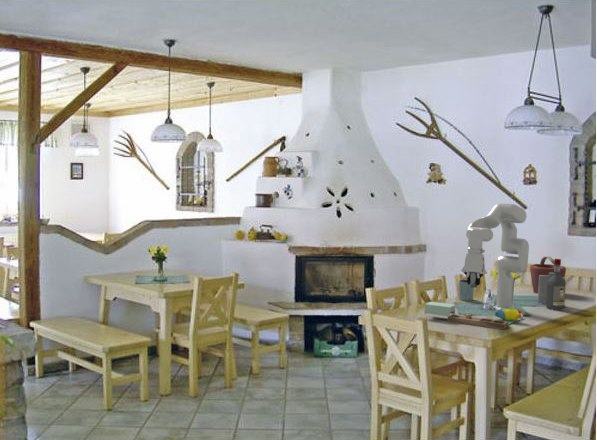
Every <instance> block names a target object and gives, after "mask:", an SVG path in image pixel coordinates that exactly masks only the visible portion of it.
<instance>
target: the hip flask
mask: <svg viewBox="0 0 597 440" xmlns="http://www.w3.org/2000/svg"><path fill="white" fill-rule="evenodd" d="M549 274H550V275H539V290H538V294H537V304H539V303H543V304H542V305H545V304H546V302H547V282H548V280H549V279H550V278H551V277H552V276H553V275H554V273H549ZM563 279H564V280H565V281H566V277H564V278H563Z"/></svg>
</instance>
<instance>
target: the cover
mask: <svg viewBox="0 0 597 440" xmlns="http://www.w3.org/2000/svg"><path fill="white" fill-rule="evenodd" d="M424 314H427V315H428V314H429V315H437V316H442V317H448V316H449V317H450V315H452V314H456V304H451V303H445V302H438V301H437V302H435V301H429V302H427V303H425V304H424Z"/></svg>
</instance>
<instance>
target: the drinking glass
mask: <svg viewBox="0 0 597 440" xmlns="http://www.w3.org/2000/svg"><path fill="white" fill-rule="evenodd" d="M469 286H470V284H469V285H468V283H467V279H459V280H458V300H459V301H465V302H470V301H471V302H472V301H474V290H475V288H473V287H469Z"/></svg>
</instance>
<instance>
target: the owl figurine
mask: <svg viewBox="0 0 597 440" xmlns="http://www.w3.org/2000/svg"><path fill="white" fill-rule="evenodd" d="M524 314H525V311H522V312H519V310H518V309H514V308H513V307H506V308H498V309H497V308H496V309H494V316H495V317H497V318H498V319H502V321H509V324H508V325H512V323H515V322H518V321H522V320H526V318H525V317H524Z"/></svg>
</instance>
